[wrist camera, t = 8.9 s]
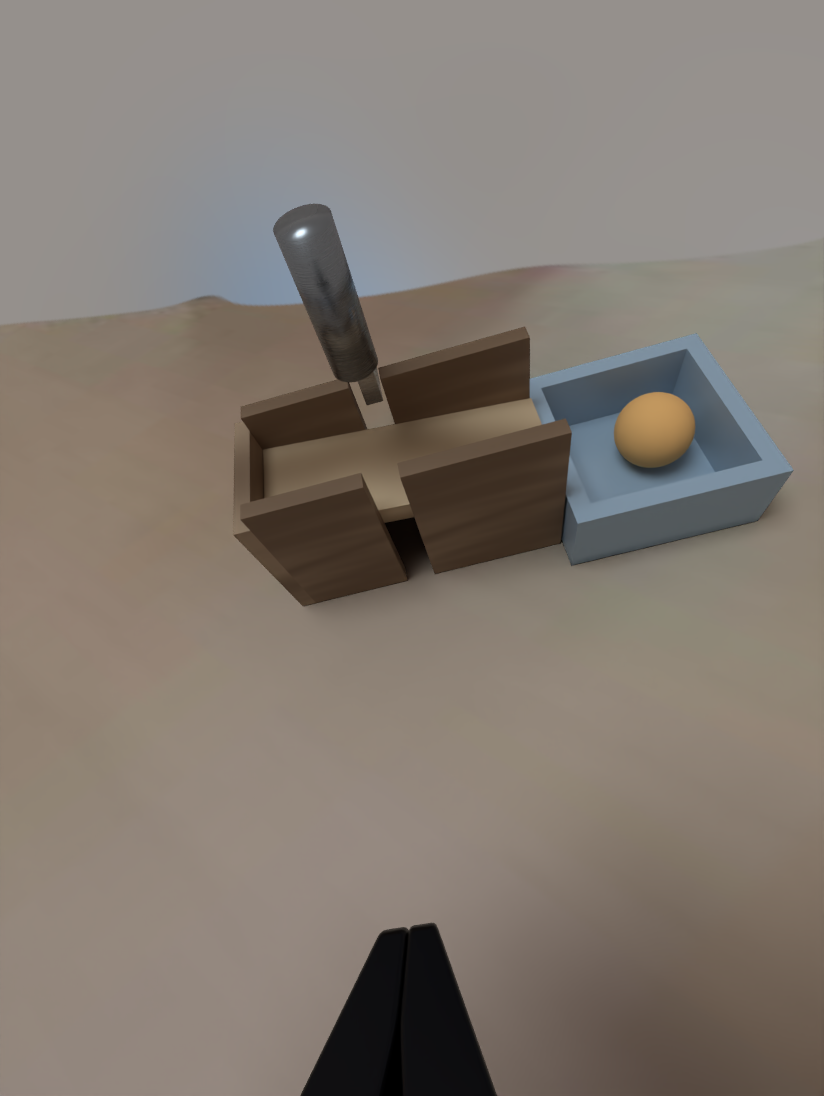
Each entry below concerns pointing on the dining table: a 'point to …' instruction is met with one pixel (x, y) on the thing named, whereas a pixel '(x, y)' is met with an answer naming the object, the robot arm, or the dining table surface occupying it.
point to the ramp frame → (401, 471)
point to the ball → (654, 429)
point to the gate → (329, 295)
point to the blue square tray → (668, 491)
